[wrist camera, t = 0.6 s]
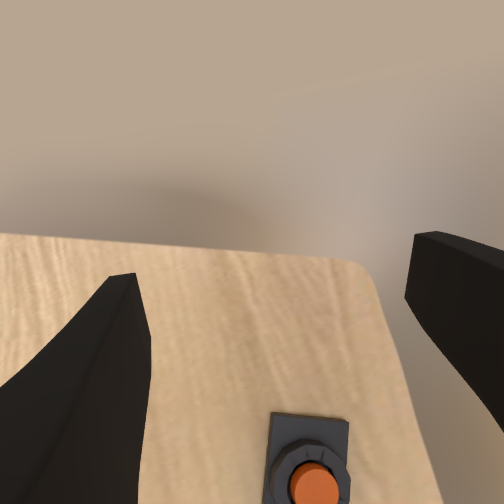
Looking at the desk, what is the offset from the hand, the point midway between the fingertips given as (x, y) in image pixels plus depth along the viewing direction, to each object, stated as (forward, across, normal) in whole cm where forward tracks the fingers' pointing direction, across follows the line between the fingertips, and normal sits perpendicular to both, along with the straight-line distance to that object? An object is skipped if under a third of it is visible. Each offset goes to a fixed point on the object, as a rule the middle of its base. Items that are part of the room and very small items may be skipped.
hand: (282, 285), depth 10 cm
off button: (+10, -4, +27) cm, 30 cm away
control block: (+12, -4, +29) cm, 32 cm away
